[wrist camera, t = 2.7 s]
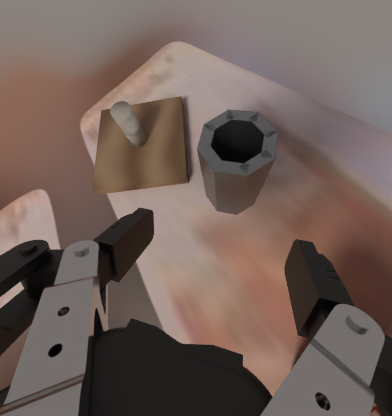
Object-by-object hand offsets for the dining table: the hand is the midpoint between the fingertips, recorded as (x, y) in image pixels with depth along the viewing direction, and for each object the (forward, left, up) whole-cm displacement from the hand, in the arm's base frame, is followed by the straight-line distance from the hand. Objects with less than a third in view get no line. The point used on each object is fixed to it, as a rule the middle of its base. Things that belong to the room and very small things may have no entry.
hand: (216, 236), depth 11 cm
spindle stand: (+10, -17, -12) cm, 23 cm away
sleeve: (-2, -8, -12) cm, 15 cm away
